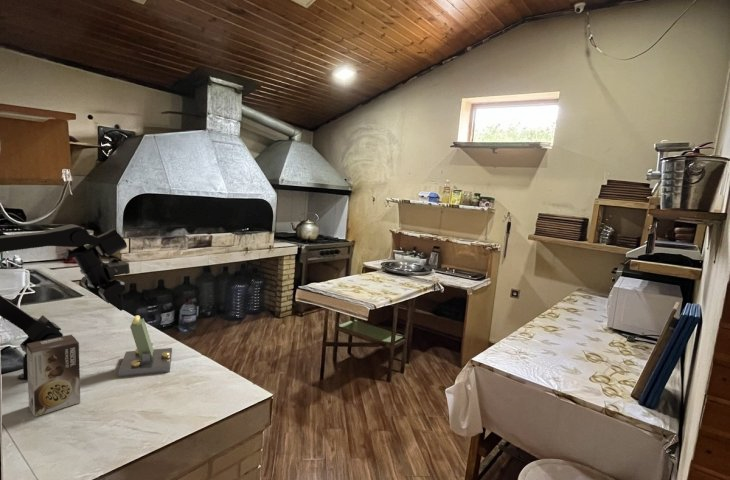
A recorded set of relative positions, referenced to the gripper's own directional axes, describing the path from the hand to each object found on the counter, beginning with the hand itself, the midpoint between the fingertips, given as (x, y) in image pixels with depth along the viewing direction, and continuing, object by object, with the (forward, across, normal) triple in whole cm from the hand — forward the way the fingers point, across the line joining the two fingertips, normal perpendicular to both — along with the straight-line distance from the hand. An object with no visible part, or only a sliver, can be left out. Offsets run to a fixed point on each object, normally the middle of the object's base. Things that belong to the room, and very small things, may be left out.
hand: (116, 306), depth 121 cm
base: (+16, -13, +3) cm, 21 cm away
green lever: (+13, -13, +2) cm, 19 cm away
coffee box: (+6, -20, +26) cm, 33 cm away
